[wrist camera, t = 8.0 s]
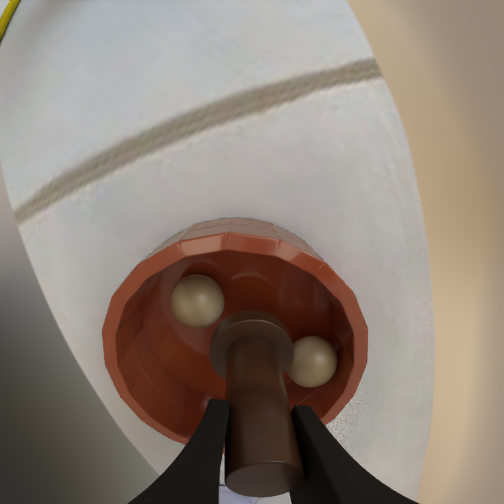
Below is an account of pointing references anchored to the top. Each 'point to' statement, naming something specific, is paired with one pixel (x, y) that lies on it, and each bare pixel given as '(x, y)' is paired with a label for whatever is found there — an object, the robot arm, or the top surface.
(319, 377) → the bead
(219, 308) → the bead
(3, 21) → the pencil
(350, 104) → the top surface
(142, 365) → the bowl
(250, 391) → the pestle
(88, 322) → the top surface
